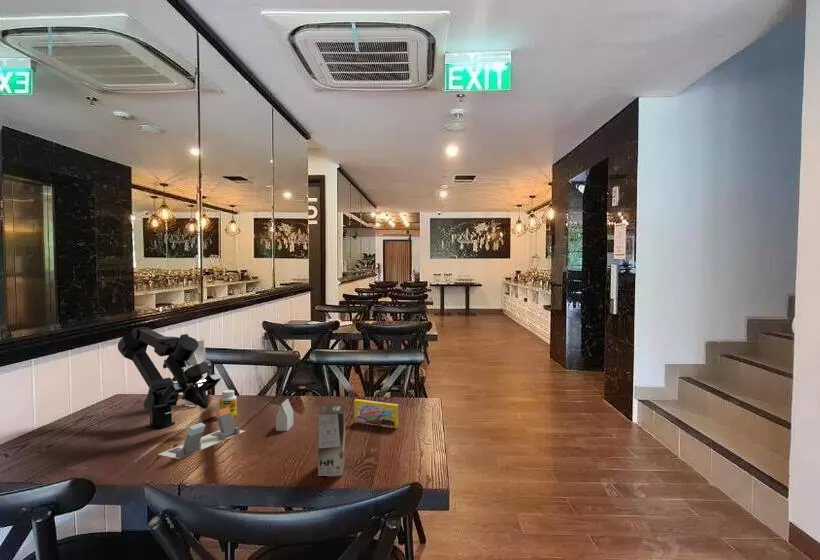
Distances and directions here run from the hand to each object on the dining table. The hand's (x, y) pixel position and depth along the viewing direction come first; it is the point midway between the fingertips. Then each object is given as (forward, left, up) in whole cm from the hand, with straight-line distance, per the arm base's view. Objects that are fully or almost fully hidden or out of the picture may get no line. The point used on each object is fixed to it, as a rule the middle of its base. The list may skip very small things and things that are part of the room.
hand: (206, 407), depth 146 cm
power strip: (+6, -6, -9) cm, 13 cm away
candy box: (+43, +32, -10) cm, 55 cm away
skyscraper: (-34, +26, -10) cm, 44 cm away
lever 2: (+9, 0, -8) cm, 12 cm away
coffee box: (+49, -5, -9) cm, 50 cm away
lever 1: (+9, -15, -8) cm, 19 cm away
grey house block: (+19, +14, -9) cm, 26 cm away
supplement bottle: (-7, +16, -9) cm, 20 cm away
